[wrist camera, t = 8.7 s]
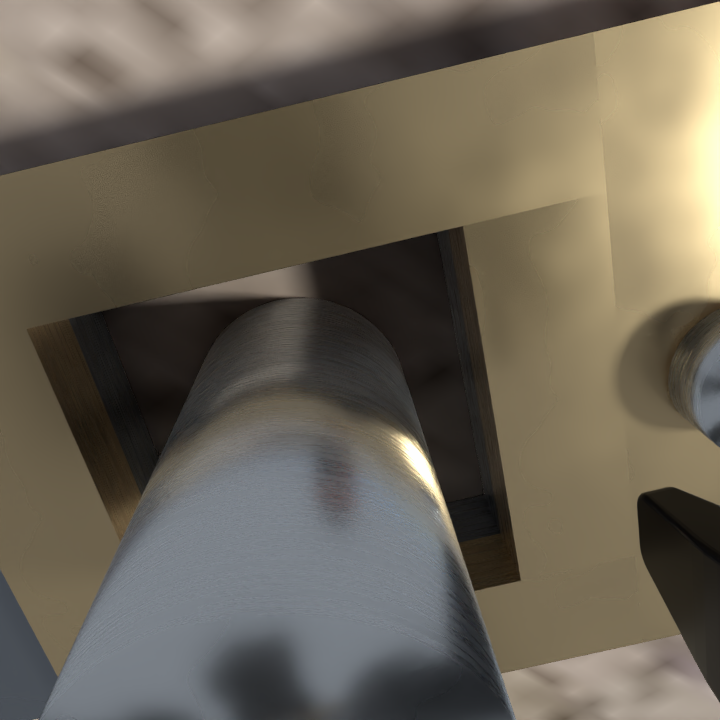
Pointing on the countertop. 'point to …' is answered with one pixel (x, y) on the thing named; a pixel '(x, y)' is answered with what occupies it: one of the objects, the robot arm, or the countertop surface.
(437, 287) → the countertop surface
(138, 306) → the countertop surface
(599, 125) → the upper end link
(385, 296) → the countertop surface
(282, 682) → the pin
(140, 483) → the lower end link
